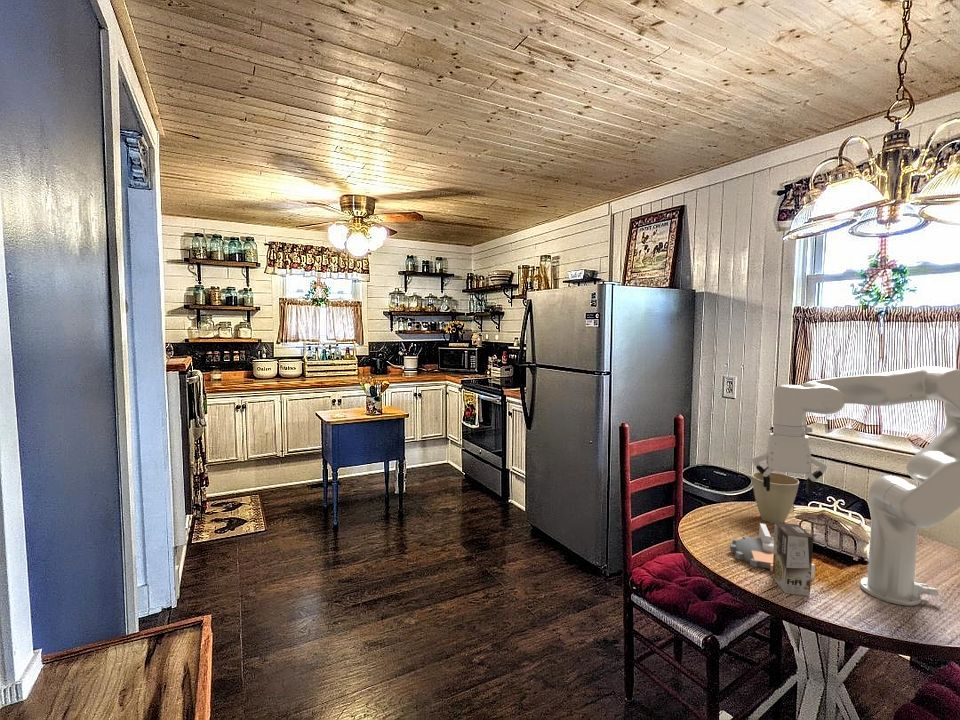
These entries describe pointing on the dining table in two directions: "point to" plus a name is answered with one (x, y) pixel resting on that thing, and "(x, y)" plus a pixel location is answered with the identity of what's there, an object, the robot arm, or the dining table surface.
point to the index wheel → (755, 549)
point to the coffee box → (792, 558)
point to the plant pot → (775, 496)
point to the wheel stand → (812, 571)
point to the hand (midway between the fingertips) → (787, 491)
